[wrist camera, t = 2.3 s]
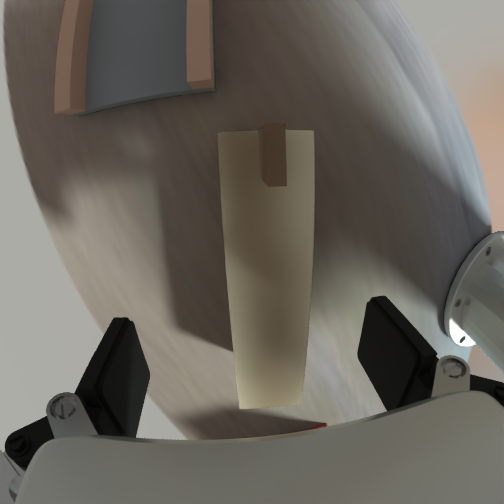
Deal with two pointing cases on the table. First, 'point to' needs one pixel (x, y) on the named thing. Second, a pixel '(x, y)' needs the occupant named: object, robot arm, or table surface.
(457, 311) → the robot arm
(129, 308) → the table surface
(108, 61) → the jig cradle
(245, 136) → the tapered cream block
